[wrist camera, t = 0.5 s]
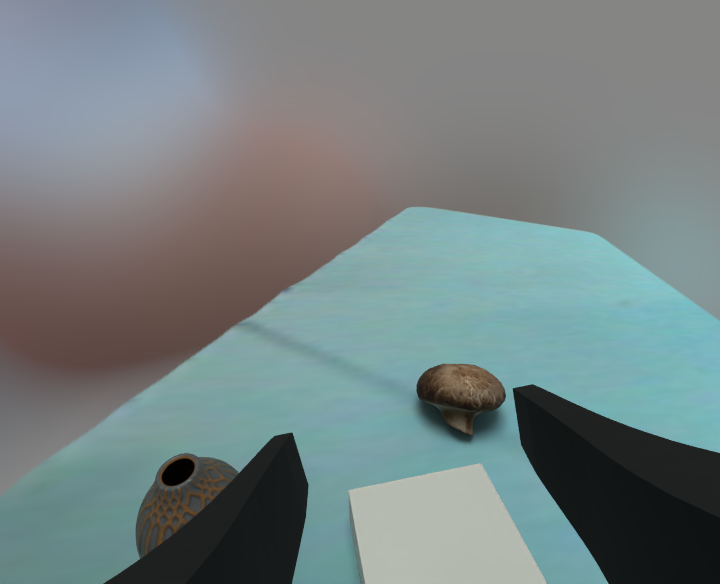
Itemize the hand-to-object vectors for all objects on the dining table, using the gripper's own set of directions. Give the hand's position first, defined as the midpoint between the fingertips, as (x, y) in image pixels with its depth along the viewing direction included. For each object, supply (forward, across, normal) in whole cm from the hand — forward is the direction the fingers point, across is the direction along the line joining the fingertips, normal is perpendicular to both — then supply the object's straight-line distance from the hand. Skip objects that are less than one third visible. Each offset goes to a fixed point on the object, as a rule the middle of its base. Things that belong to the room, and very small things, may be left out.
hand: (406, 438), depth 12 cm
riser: (+9, 0, +17) cm, 19 cm away
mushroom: (+22, -5, +14) cm, 27 cm away
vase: (+11, +16, +13) cm, 23 cm away
